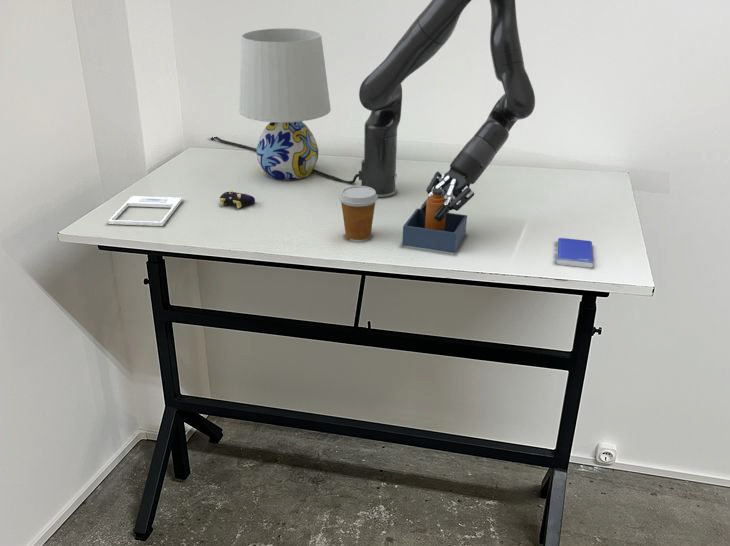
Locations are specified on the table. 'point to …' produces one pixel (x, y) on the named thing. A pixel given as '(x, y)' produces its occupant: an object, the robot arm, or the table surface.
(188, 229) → the table surface
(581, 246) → the blue book
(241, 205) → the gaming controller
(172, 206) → the photo frame
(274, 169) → the table lamp
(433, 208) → the bottle
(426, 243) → the tote
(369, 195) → the disposable coffee cup
